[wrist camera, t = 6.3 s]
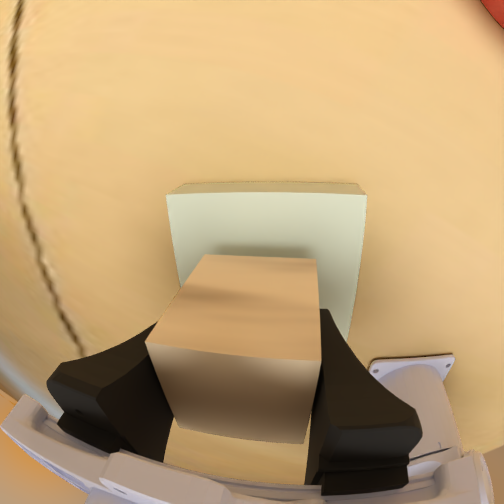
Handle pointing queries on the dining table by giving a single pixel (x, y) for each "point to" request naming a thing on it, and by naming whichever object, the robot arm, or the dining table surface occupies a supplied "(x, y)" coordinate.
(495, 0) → the flower pot
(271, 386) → the maple block
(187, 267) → the base block
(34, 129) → the dining table surface
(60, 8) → the dining table surface
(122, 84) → the dining table surface
